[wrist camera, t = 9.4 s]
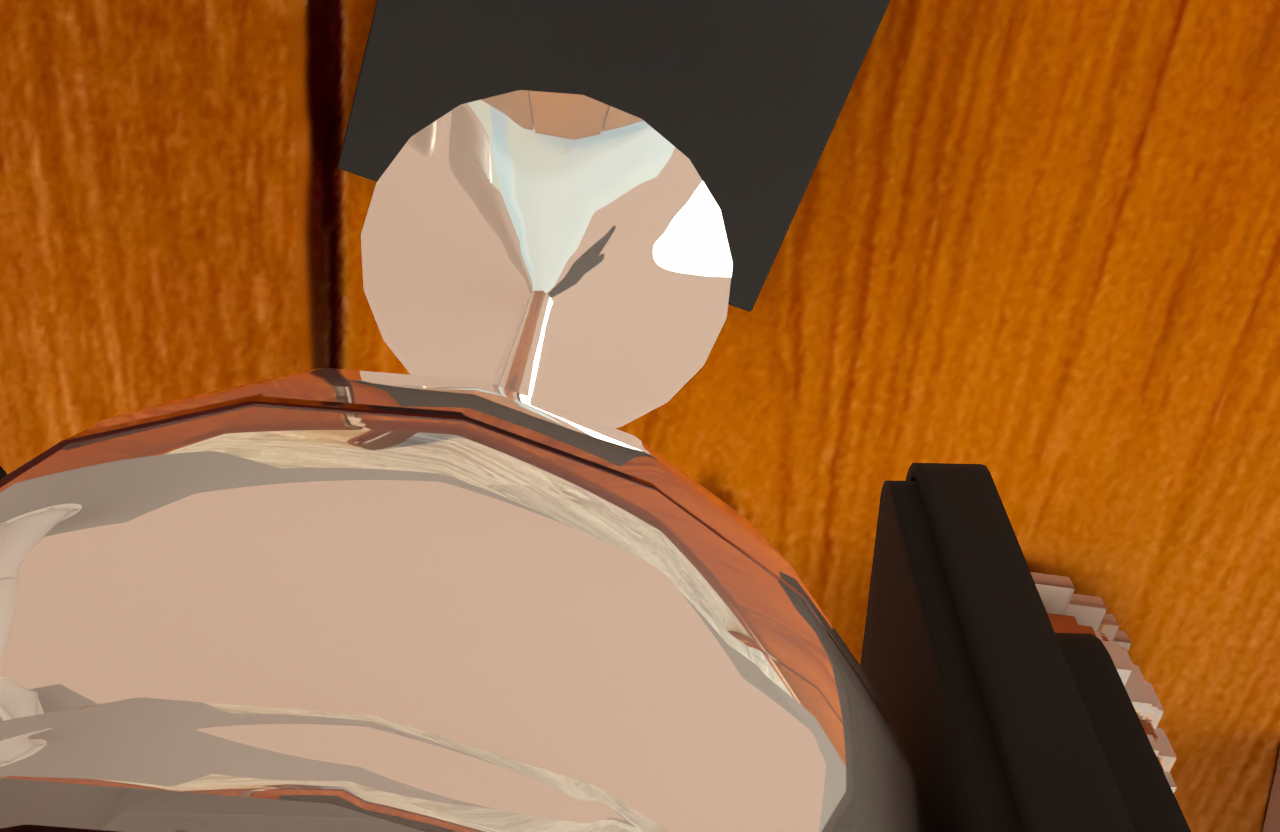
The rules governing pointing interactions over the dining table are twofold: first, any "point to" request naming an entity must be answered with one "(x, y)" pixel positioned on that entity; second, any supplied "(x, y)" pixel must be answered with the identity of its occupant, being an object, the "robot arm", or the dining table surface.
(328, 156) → the dining table surface
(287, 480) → the wineglass
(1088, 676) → the robot arm
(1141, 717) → the decorative ornament
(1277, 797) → the planter
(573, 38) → the mat
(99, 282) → the dining table surface
